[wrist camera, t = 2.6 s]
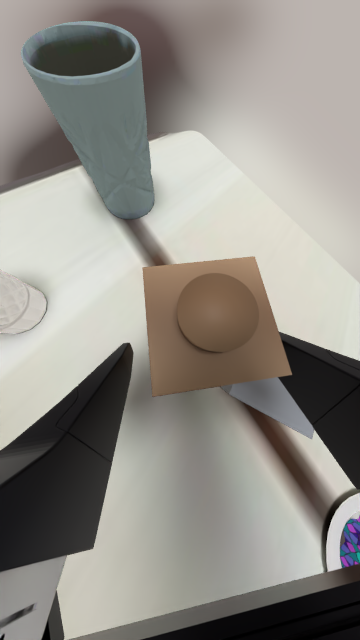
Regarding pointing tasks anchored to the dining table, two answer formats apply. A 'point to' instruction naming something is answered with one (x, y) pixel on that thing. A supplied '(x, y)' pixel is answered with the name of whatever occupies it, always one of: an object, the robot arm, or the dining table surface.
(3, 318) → the white cup
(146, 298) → the column
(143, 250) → the dining table surface
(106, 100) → the green cup
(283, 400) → the base brick
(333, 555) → the purple patterned hat
